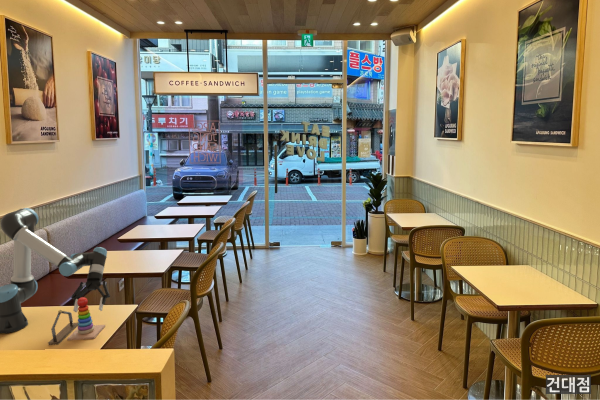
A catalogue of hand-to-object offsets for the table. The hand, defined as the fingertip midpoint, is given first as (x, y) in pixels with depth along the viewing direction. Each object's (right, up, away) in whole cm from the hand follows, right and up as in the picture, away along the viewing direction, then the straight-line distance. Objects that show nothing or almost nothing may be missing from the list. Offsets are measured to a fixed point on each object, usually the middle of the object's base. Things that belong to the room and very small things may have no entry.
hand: (87, 310), depth 248 cm
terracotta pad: (0, -11, -2) cm, 12 cm away
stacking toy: (0, -11, -2) cm, 11 cm away
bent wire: (-12, -12, -2) cm, 17 cm away
